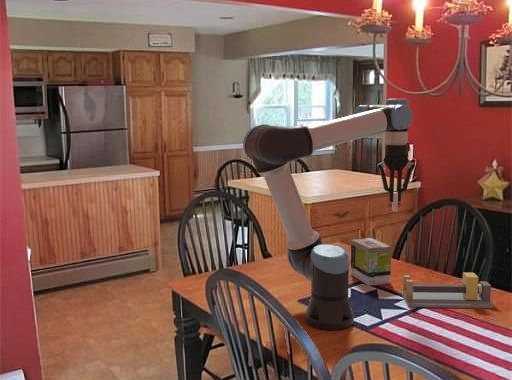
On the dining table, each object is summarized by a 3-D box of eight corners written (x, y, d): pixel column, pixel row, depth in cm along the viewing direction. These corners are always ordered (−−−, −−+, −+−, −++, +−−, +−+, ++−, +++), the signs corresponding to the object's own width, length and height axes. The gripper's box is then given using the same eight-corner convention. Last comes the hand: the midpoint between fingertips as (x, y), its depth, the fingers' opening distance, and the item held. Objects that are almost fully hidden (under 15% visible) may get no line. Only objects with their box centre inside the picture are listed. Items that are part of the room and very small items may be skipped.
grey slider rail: (493, 308, 178) (495, 285, 177) (408, 306, 180) (408, 284, 179) (481, 295, 190) (483, 273, 188) (401, 294, 192) (402, 272, 191)
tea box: (391, 283, 204) (392, 246, 201) (367, 286, 201) (368, 248, 199) (372, 272, 218) (372, 236, 216) (349, 274, 215) (350, 238, 213)
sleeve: (477, 300, 181) (478, 277, 180) (466, 299, 182) (467, 277, 180) (472, 294, 186) (473, 272, 185) (461, 294, 187) (462, 272, 185)
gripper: (413, 142, 188) (411, 208, 192) (375, 143, 189) (374, 208, 193) (418, 144, 180) (415, 213, 184) (378, 144, 181) (377, 212, 185)
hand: (394, 210), depth 188 cm, fingers closed
